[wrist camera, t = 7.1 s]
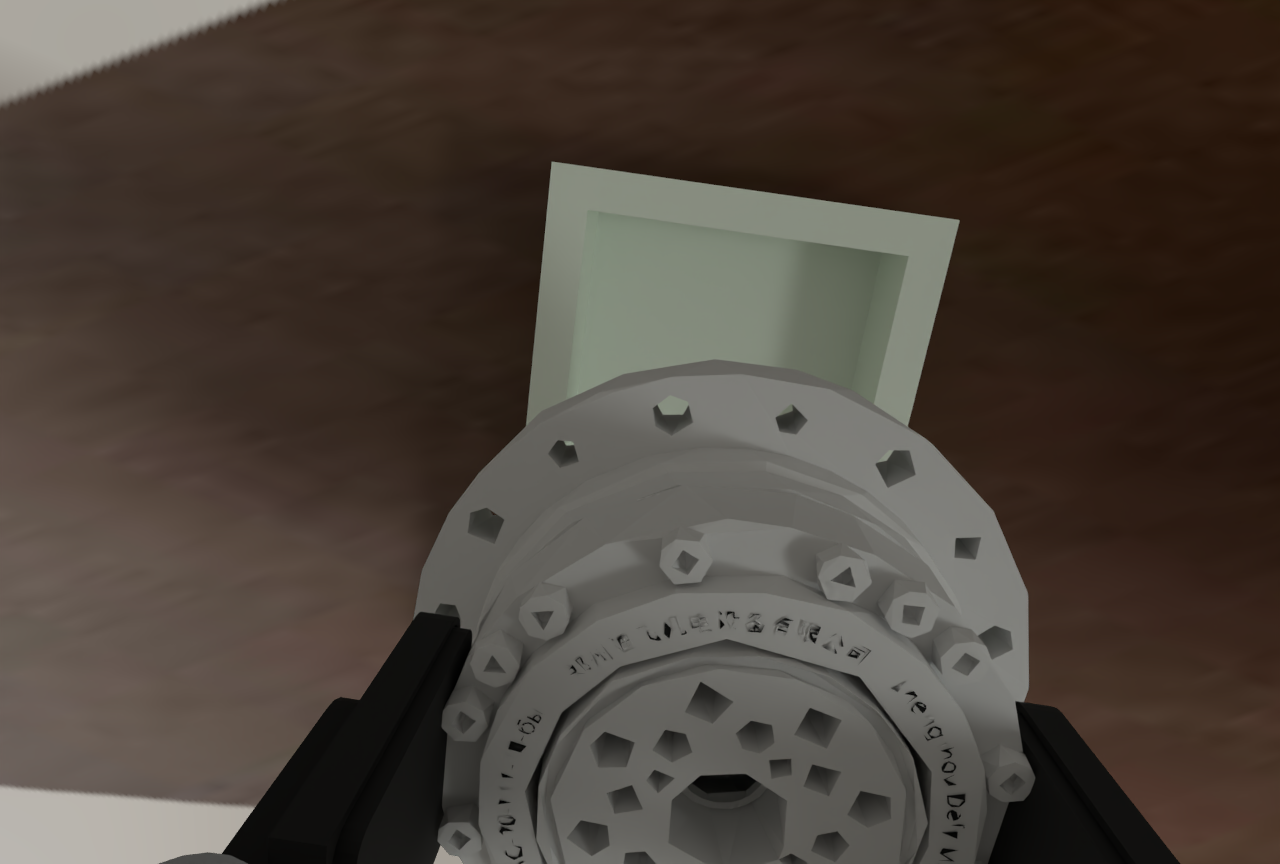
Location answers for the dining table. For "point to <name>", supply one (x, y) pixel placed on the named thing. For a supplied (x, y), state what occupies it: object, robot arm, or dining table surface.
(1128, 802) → the robot arm
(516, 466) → the mechanical component
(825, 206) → the tray
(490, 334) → the dining table surface
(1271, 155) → the dining table surface
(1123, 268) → the dining table surface
